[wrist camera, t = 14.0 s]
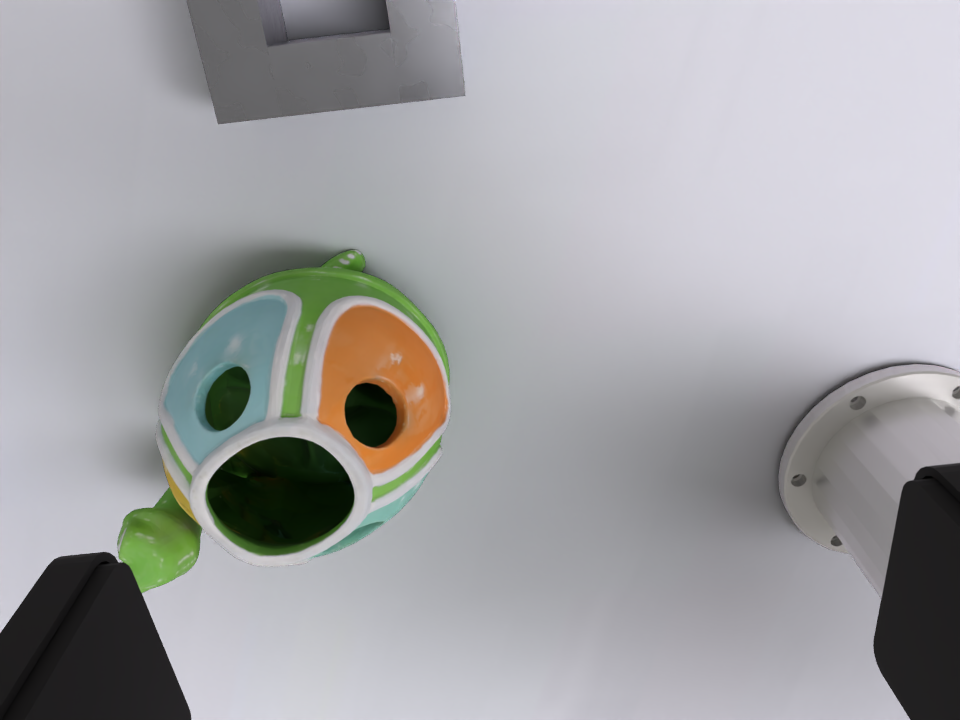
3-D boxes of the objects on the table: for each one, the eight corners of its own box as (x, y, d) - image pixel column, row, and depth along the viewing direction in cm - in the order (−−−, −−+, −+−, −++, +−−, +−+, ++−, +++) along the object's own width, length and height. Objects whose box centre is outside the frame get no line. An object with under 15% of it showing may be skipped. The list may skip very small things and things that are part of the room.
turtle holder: (90, 397, 40) (-44, 547, 29) (346, 195, 35) (299, 284, 25) (254, 539, 44) (191, 713, 34) (498, 377, 40) (515, 518, 29)
